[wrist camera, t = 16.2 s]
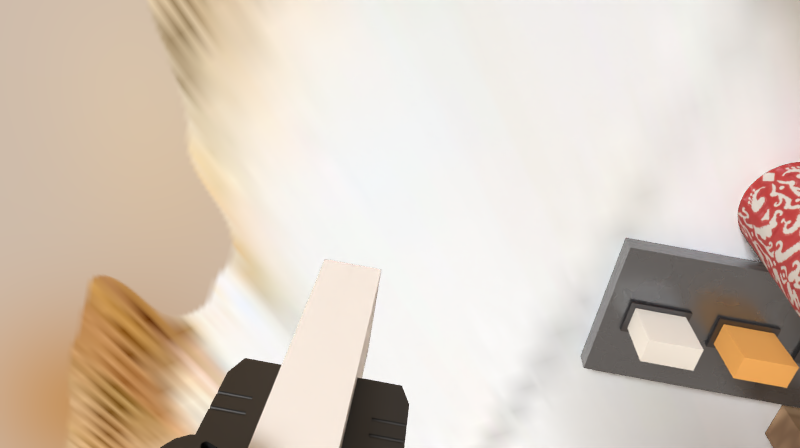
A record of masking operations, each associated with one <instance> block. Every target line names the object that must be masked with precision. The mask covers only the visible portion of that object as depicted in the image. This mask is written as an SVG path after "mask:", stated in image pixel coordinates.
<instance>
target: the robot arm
mask: <svg viewBox="0 0 800 448" xmlns="http://www.w3.org/2000/svg"><path fill="white" fill-rule="evenodd" d="M380 274H381V269H376V268H370V267H365V266H360V265H354V264H349V263H343V262H338V261H332V260H327V259H325V260H324V262H323V264H322V267H321V269H320V272H319V274H318V277H317V279H316V282H315V284H314V287H313V289H312V292H311V294H310V296H309V299H308V301H307V304H306V306H305V309H304V311H303V314H302V316H301V319H300V321H299V324H298V326H297V328H296V331H295V333H294V336H293V338H292V341H291V343H290V346H289V348H288V351H287V353H286V356H285V358H284V360H283V363H282V365H279V364H274V363H268V362H263V361H258V360H252V359H247V358H245V359H243V360H242V361H241V362H240V363H239V364H237V365H236V366H235V367H234V368H232V369H231V370H230V371H229V372H228V373H227V375H226V377H225V378H224V380H223V382H222V384H221V386H220V388H219V390H218V394H216V396H215V398H214V400H213V402H212V404H211V406H210V409H208V411H207V413H206V415H205V417H204V419H203V421H202V423H201V425H200V427H199V429H198V431H197V433H196V435H187V436H183V437H180V438H176V439H174V440H172V441H170V442H169V443H167V444H165V445H164V446H162V447H161V448H404V443H405V435H406V426H407V418H408V409H409V403H408V401H407V398H406V395H405V393H404V390H403V388H402V386H400V385H395V384H389V383H384V382H379V381H373V380H368V379H362V375H363V371H364V366H365V362H366V357H367V353H368V348H369V341H370V335H371V329H372V323H373V317H374V311H375V305H376V298H377V292H378V286H379V280H380Z"/></svg>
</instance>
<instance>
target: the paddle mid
mask: <svg viewBox="0 0 800 448" xmlns="http://www.w3.org/2000/svg"><path fill="white" fill-rule="evenodd" d="M714 345H715V347H716V349H717V351H718V352H719V354H720V356H721V358H722V359H723V361H724V363H725V365H726V366H727V368H728V370H729V372H730V373H731V375H732V377H733V378H735V379H741V380H746V381H752V382H757V383H763V384H768V385H774V386H779V387H784V388H787V387H788V385H789V383H790V382H791V380H792V378H793V377H794V375H795V373H796V372H797V370H798V369H799V367H798V365H797V364H796V363H795V361H794V360H793V358H792V357H791V356H790V354H789V353H788V352H787V350H786V349H785V347H784V346H783V345H782V343H781V342H780V341H779V339H778V338H777V337H776V335H775V334H774V333H769V332H764V331H758V330H753V329H747V328H742V327H736V326H731V325H725V324H724V325H723V327H722V329H721V331H720V332H719V334H718V336H717V338H716V340H715V342H714Z"/></svg>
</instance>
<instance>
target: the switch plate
mask: <svg viewBox="0 0 800 448" xmlns="http://www.w3.org/2000/svg"><path fill="white" fill-rule="evenodd" d="M636 308H638V309H643V310H649V311H654V312H660V313H665V314H671V315H676V316H681V317H686V318H687V320H688V322H689V324H690V326H691V328H692V329H693V331H694V333H695V335H696V337H697V339H698V340H699V342H700V344H701V346H702V348H703V352H702V354H701V356H700V358H699V360H698V362H697V364H696V366H695V368H694V370H693V371H692V370H686V369H681V368H676V367H670V366H665V365H659V364H654V363H648V362H643V361H640V359H639V357H638V354H637V352H636V349H635V347H634V344H633V341H632V339H631V336H630V334H629V331H628V329H627V328H628V325H629V323H630V321H631V318H632V316H633V313H634V311H635V309H636ZM724 324H725V325H731V326H736V327H742V328H747V329H753V330H758V331H764V332H769V333H774V334H775V335H776V337H777V338H778V339H779V341H780V342H781V343H782V345H783V346H784V347H785V349H786V350H787V352H788V353H789V354H790V356H791V357H792V358H793V360H794V361H795V363H796V364H797V365H798V367H799V369H798V370H797V372H796V373H795V375H794V377H793V378H792V380H791V382H790V383H789V385H788V387H787V388H784V387H779V386H774V385H768V384H763V383H757V382H752V381H746V380H741V379H735V378H733V377H732V375H731V373H730V372H729V370H728V368H727V366H726V365H725V363H724V361H723V359H722V358H721V356H720V354H719V352H718V351H717V349H716V347H715V345H714V342H715V340H716V338H717V336H718V334H719V332H720V331H721V329H722V327H723V325H724ZM581 359H582V363H583V367H584V368H587V369H593V370H598V371H604V372H609V373H614V374H620V375H625V376H631V377H636V378H642V379H647V380H652V381H658V382H663V383H669V384H674V385H680V386H685V387H690V388H696V389H701V390H707V391H712V392H718V393H723V394H728V395H734V396H739V397H745V398H750V399H756V400H761V401H767V402H772V403H777V404H783V405H788V406H794V407H799V408H800V317H799V315H798V314H797V312H796V311H795V310H794V308H793V307H792V305H791V303H790V302H789V300H788V299H787V298H786V296H785V295H784V293H783V292H782V290H781V289H780V287H779V286H778V284H777V283H776V281H775V280H774V279H773V278H772V276H771V275H770V273H769V271H768V270H767V268H766V267H765V265H764V264H763V263H762V262H757V261H751V260H745V259H740V258H734V257H729V256H723V255H718V254H712V253H707V252H701V251H696V250H690V249H685V248H679V247H674V246H668V245H662V244H657V243H651V242H646V241H640V240H635V239H629V238H626V239H625V241H624V244H623V246H622V249H621V252H620V254H619V257H618V260H617V262H616V265H615V268H614V270H613V273H612V275H611V278H610V281H609V283H608V286H607V289H606V291H605V294H604V296H603V299H602V302H601V304H600V307H599V310H598V312H597V315H596V318H595V320H594V323H593V325H592V328H591V331H590V333H589V336H588V339H587V341H586V344H585V346H584V349H583V352H582V354H581Z"/></svg>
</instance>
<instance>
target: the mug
mask: <svg viewBox="0 0 800 448" xmlns="http://www.w3.org/2000/svg"><path fill="white" fill-rule="evenodd" d="M738 223H739V227H740V229H741V231H742V233H743V235H744V236H745V238H746V239H747V241H748V242H749V244H750V245H751V246H752V248H753V249H754V251H755V252H756V254H757V255H758V257H759V258H760V260H761V261H762V262H763V264H764V265H765V267H766V268H767V270H768V271H769V273H770V275H771V276H772V278H773V279H774V280H775V281H776V283H777V284H778V286H779V287H780V289H781V290H782V292H783V293H784V295H785V296H786V298H787V299H788V300H789V302H790V303H791V305H792V307H793V308H794V310H795V311H796V312H797V314H798V315H799V317H800V162H795V163H789V164H785V165H782V166H779V167H777V168H775V169H772V170H770V171H769V172H767V173H765V174H764V175H762V176H761V177H760V178H758V179H757V180H756V181H755V182H754V183H753V184H752V185H751V186H750V187H749V188H748V189H747V191H746V192H745V194H744V195H743V197H742V200H741V202H740V205H739V209H738Z"/></svg>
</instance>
